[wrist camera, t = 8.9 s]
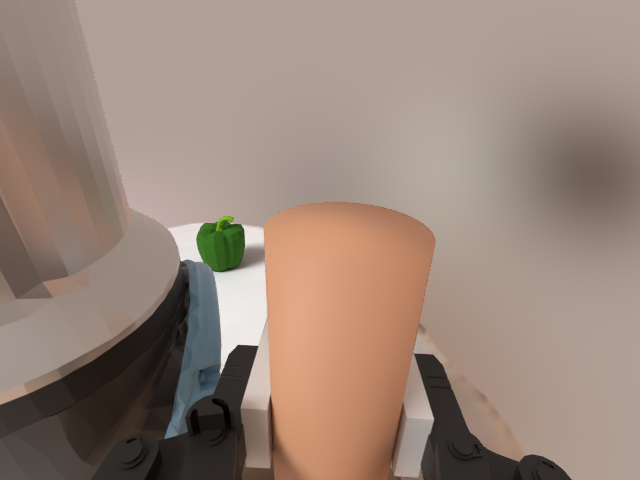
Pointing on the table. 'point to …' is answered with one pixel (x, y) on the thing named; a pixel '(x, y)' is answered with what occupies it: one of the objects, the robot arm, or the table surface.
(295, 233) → the peg
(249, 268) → the table surface
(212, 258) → the bell pepper
